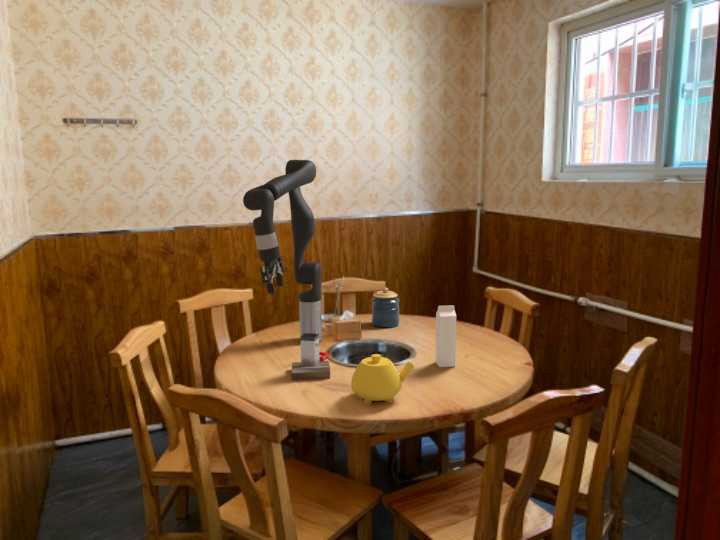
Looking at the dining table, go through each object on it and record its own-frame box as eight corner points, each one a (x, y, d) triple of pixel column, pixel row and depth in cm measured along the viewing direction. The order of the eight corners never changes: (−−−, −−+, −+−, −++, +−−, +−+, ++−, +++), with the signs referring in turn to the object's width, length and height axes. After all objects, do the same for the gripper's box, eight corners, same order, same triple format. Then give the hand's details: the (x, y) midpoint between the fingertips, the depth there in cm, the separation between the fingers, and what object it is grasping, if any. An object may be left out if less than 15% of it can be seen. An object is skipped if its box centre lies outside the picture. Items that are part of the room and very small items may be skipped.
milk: (435, 362, 203) (435, 304, 199) (451, 361, 203) (452, 303, 200) (439, 367, 197) (439, 307, 193) (455, 366, 197) (456, 307, 194)
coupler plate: (292, 369, 197) (292, 358, 196) (328, 367, 198) (328, 356, 197) (292, 380, 186) (291, 368, 185) (330, 378, 187) (330, 367, 186)
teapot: (408, 385, 180) (408, 345, 177) (421, 404, 165) (421, 361, 162) (348, 389, 177) (347, 349, 175) (355, 409, 162) (354, 365, 159)
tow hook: (309, 354, 215) (303, 360, 206) (309, 321, 214) (303, 326, 204) (330, 355, 214) (325, 361, 205) (330, 322, 212) (325, 327, 203)
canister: (386, 319, 265) (386, 283, 262) (405, 324, 255) (405, 287, 252) (365, 324, 256) (365, 287, 253) (384, 330, 246) (384, 291, 244)
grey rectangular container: (301, 367, 191) (300, 337, 189) (306, 362, 196) (305, 333, 194) (316, 368, 189) (315, 338, 188) (320, 363, 194) (319, 333, 193)
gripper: (269, 249, 185) (278, 295, 189) (285, 240, 198) (293, 282, 202) (249, 251, 187) (258, 296, 191) (266, 242, 200) (274, 284, 204)
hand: (276, 289), depth 197 cm, fingers open, 8 cm apart
